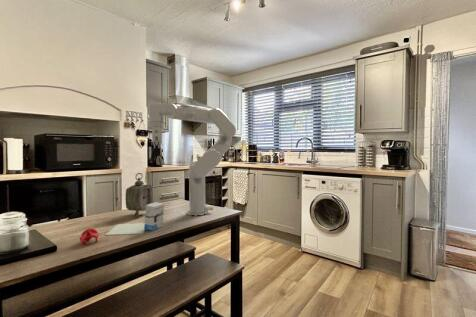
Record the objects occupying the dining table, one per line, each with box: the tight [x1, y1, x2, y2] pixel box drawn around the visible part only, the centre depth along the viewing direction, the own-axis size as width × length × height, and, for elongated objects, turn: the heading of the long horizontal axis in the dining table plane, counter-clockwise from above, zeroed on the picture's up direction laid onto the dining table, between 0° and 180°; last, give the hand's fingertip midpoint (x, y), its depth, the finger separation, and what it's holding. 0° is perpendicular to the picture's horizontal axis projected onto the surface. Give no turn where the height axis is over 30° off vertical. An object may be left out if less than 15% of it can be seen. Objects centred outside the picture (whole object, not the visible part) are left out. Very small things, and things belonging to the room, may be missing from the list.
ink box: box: [144, 201, 165, 232], centre depth 125 cm, size 8×5×12 cm, turn 161°
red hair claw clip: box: [79, 228, 99, 245], centre depth 107 cm, size 8×6×6 cm
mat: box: [105, 222, 146, 237], centre depth 124 cm, size 16×16×1 cm
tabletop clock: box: [125, 172, 153, 219], centre depth 150 cm, size 14×9×25 cm, turn 170°
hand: (157, 155), depth 147 cm, fingers open, 9 cm apart
